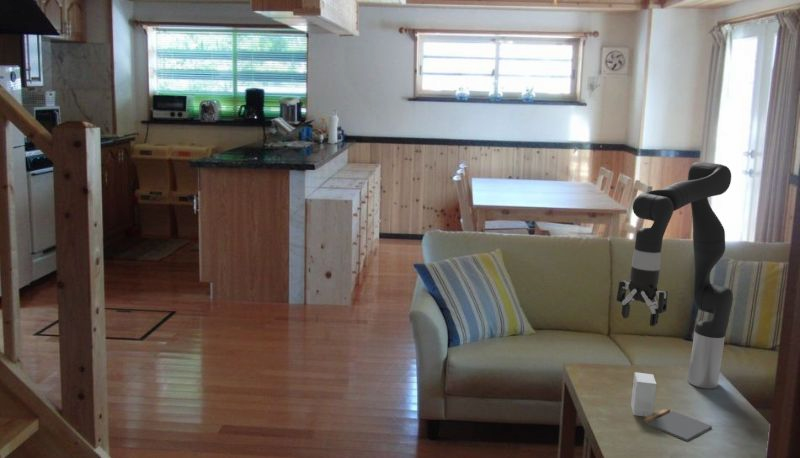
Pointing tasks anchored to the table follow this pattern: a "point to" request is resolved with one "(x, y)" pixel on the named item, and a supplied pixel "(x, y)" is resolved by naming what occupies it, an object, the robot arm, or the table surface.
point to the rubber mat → (679, 425)
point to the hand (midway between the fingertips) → (638, 321)
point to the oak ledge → (657, 415)
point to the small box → (643, 394)
